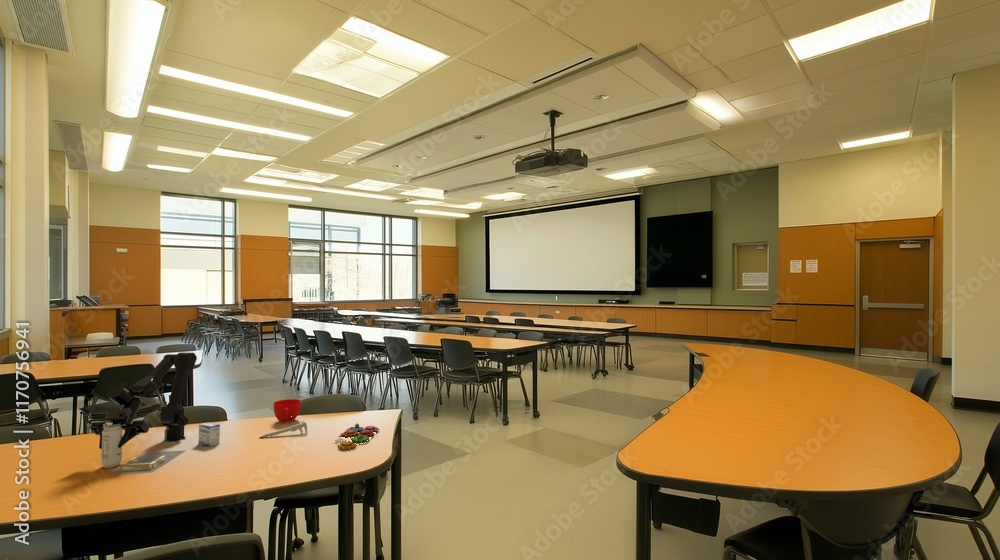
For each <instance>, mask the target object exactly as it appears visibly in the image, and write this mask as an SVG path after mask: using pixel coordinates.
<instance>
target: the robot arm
mask: <svg viewBox="0 0 1000 560" xmlns="http://www.w3.org/2000/svg"><path fill="white" fill-rule="evenodd" d="M197 359H198V357H197V354H196V353H195V352H185V351H184V352H178V353H177V354H174V353H172V354H171V353H168V354H165V355H163V358H162V359H161V360H160V361H159V363H158V364H157V365H156V366H155V367H154V368H153V369H152V370H151V371H150V372H149V373H148V375H146V376H145V377H143V378H141V379H139V380H138V381H136V382H135V383H134V384H133V385H132V386H131V387H129V386H127V384H125V383H119V384H118V385H117V386H115V387H113V388H112V389H110V390H109V391H108V393H107V398H108V399H110V400H111V401H112V402H114V403H115V404H116V405H117V406H121V407H120V409H108V410H107V412H106V414H105V415H106V416H105V420H109V422H110V423H111V425H114V424H120V426H121V428H122V431H123V430H124V433H123V434H122V439H121V441H120V442H119V445H118V448H121V447H122V448H123V446H125V445H126V444H127V443H129V441H130V440H132V439H133V438H135V437H136V436H139V435H140V434H147V433H148V432H149V430H150V425H149V424H148V423H147V422H146V420H145V419H141V420H140V419H139V420H138V419H137V418H138V417H137V414H138V412H139V409H141V407H146V402H145V401H144V399H141V398H145V399H146V398H150V397H152V395H153V394H154V393H155V391H156V390H157V389H158V388H157V387H158V383H159V382H160V381H161V380H162V378H164V377H165V375H167V373H168V372H169V370H171V369H172V368H173V366H174V369H175V375H174V379H173V384H172V389H171V391H170V396H169V400H168V403H167V404H166V405H165V406H162V407H161V411H160V413H159V419H160V421H161V425H162V427H165V430H164V439H163V440H164V441H167V442H169V443H170V442H175V441H180V440H183V439H186V438H187V437H186V436H185V427H186V426H187V425H188V423H189V418H188V417H187V416H186V415H184V414H185V409H184V406H183V399H184V394H185V390H186V386H187V382H188V379H189V375H190V374H189V373H190V372H191V370H193V369H194V367H195V365H196V362H197ZM108 425H109V424H107V423H106V422H105V421H93V422H91V424H90V426H89V427H88V429H89V430H90V431H91V432H92V433H93V434H94V435H96V436H99V442H98V443H99V444H98V445H99V446H98V449H101V450H102V431H103V430H104V427H105V426H108Z"/></svg>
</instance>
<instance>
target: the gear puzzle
mask: <svg viewBox="0 0 1000 560" xmlns="http://www.w3.org/2000/svg"><path fill="white" fill-rule="evenodd" d="M377 430H379V431H380V428H378V427H377V426H375V425H367V426H365V427H362V426H360V424H359V423H355V425H354V426H351V427H349V428H347V429H346V430H345V431H344V432H342V433H340V434H339V436H341V437H345V438H348V437H350V438H351V437H354V438H351V440H352V442H350V441H348V442H347V441H346V440H345V441H343V439H341V438H340V437H339V438H340V439H339V438H338V439H334V440H335V441H336V442H335V443H340V445H338V444H337V447H336V448H337V449H338V450H343V451H344V450H351V449H355V448H356V446H358V445H356V444H359V443H365V442H367V443H368V441H367V440H369V437H372V438H373V436H372V435H374V433H373V432H378V431H377ZM358 432H359V433H358ZM374 436H375V435H374ZM341 440H342V441H341ZM369 441H370V440H369ZM355 443H356V444H355Z"/></svg>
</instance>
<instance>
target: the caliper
mask: <svg viewBox="0 0 1000 560" xmlns="http://www.w3.org/2000/svg"><path fill="white" fill-rule="evenodd" d="M303 428H304V430H305V433H306V432H307V433H308V425H307V422H306V421H305V420H303V421H300V423H297V424H294V425H290V427H286V428H282V429H280V430H276V431H271V432H268V433H265V434H262V436H260V437H267V438H269V437H268V436H270V437H274V436H277V435H281V434H284V433H287V432H291V433H294V432H297V431H298V430H299V431H300V433H301V432H303V431H304V430H303ZM303 433H304V432H303Z"/></svg>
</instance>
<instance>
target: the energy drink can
mask: <svg viewBox="0 0 1000 560" xmlns="http://www.w3.org/2000/svg"><path fill="white" fill-rule="evenodd" d="M107 425H108V426H105V427H104V430H103V431H102V449H101V466H103V468H104V469H105V468H106V469H107V468H114V467H117V466H120V465H121V463H122V460H123V446H122V447H121V448H118V445H119V442H120V441H121V439H122V437H123V430H122V428H121V426H120V424H114V425H112V424H107Z"/></svg>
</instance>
